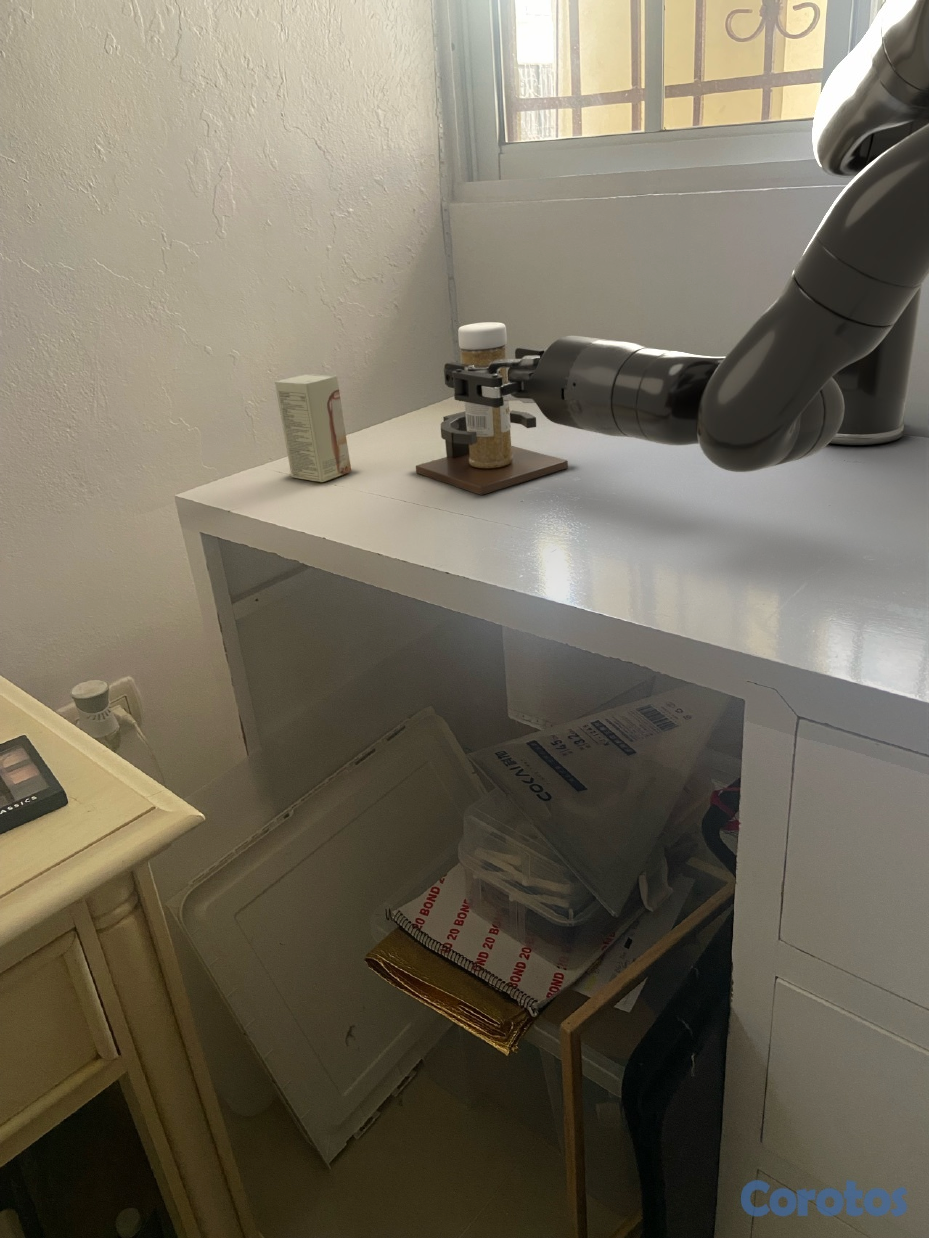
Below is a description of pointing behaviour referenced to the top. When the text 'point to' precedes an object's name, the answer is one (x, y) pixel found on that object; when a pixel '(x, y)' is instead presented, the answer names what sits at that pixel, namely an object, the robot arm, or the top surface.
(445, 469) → the cup holder
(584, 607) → the top surface
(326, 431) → the printed product carton
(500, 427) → the spice jar
